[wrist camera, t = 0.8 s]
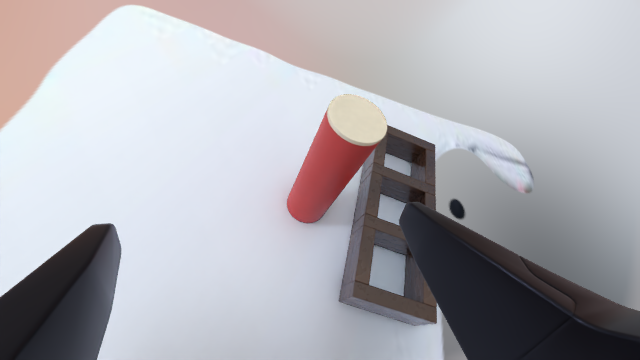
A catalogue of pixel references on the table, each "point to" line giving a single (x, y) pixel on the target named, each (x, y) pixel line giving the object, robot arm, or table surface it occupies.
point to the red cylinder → (335, 155)
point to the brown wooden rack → (390, 230)
